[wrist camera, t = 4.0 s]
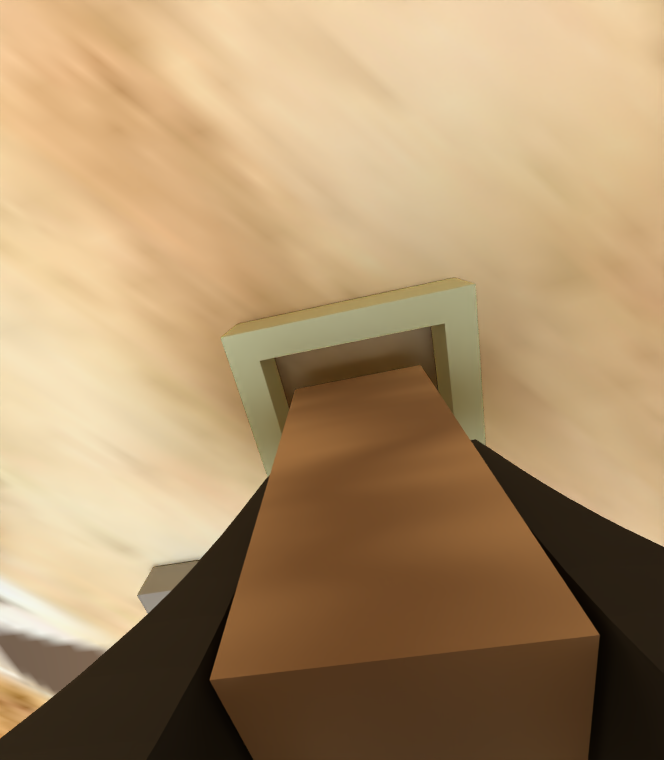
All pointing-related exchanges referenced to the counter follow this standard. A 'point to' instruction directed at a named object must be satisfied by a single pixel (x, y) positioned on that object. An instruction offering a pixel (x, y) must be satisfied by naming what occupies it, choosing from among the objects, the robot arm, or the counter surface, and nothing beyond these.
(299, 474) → the walnut block
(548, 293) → the counter surface
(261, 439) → the pocket holder
